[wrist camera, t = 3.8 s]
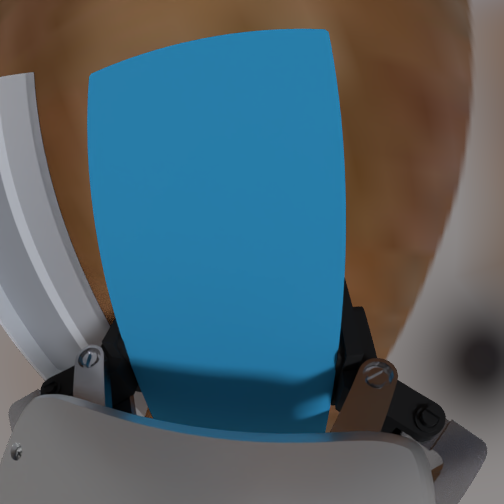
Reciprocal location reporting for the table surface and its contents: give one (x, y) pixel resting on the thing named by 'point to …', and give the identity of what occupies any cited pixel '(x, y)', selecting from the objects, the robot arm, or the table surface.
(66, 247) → the tray
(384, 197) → the table surface
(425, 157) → the table surface
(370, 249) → the table surface
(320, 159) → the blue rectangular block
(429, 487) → the robot arm
